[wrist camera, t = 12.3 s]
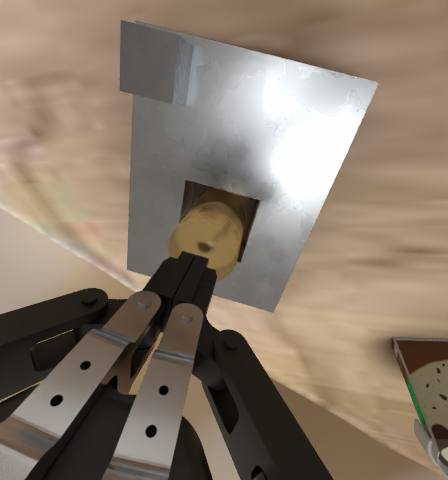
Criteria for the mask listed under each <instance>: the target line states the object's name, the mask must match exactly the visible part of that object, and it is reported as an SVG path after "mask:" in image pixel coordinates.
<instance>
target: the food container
mask: <svg viewBox="0 0 448 480" xmlns="http://www.w3.org/2000/svg"><path fill="white" fill-rule="evenodd" d="M392 347H393V350H394V352H395V355H396V358H397V360H398V363H399V366H400V369H401V371H402V374H403V377H404V379H405V382H406V385H407V387H408V390H409V393H410V395H411V398H412V401H413V403H414V406H415V409H416V411H417V414H418V417H419V419H420V422H421V424H420V423H419V421H418V420H417V419H415V423H414V430H415V434H416V436H417V438H418V440H419V442H420V443H421V445H422V446H423V448H424V449H425V451H426V452H427V454H428V455H429V457H430V458H431V460H432V461H433V462H434V464H435V465H436V466H438V467H439V468H440V470H441V471H442V473H443V474H444V475H445V476H446V477H447V478H448V339H438V338H400V337H392Z"/></svg>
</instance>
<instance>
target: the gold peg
mask: <svg viewBox="0 0 448 480" xmlns="http://www.w3.org/2000/svg"><path fill="white" fill-rule="evenodd" d="M247 212H248V205H247V201H246V199H245V197H244V196H243V195H239V194H235V193H232V192H228V191H225V190H221V189H217V188H214V187H210V188H208V189H207V190H206V191H205V192H204V193H203V195H202V196H201V197H200V199H199V200H198V201H197V202H196V204H195V205H194V206H193V207H192V209H191V210H190V211H189V212H188V214H187V215H186V216H185V217H184V219H183V220H182V221H181V223H180V224H179V225H178V226H177V228H176V229H175V230H174V231H173V233H172V234H171V236H170V238H169V242H168V253H169V257H173V258H177V259H178V257H179V256H180V254H181V252H182V251H185V252H189V253H192V254H196V255H199V256H203V257H206V258H209V262H208V266H207V268H211V269H214V270H216V274H217V280H216V281H219V280H222V279H224V278H225V277H227V276H228V275H229V274H230V273H231V272H232V271H233V269H234V268H235V266H236V263H237V258H238V254H239V249H240V244H241V240H242V235H243V231H244V226H245V222H246V217H247Z"/></svg>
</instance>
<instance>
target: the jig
mask: <svg viewBox="0 0 448 480" xmlns="http://www.w3.org/2000/svg"><path fill="white" fill-rule="evenodd" d="M378 84H379V83H378V82H374V81H370V80H366V79H362V78H358V77H355V76H351V75H347V74H343V73H339V72H335V71H331V70H327V69H323V68H319V67H315V66H311V65H308V64H304V63H300V62H296V61H292V60H288V59H284V58H280V57H276V56H272V55H268V54H264V53H261V52H257V51H253V50H249V49H245V48H241V47H237V46H233V45H229V44H225V43H221V42H218V41H214V40H210V39H206V38H202V37H198V36H194V35H190V34H186V33H182V32H178V31H174V30H171V29H167V28H163V27H159V26H155V25H151V24H147V23H143V22H139V21H136V24H134V23H130V22H126V21H122V20H121V47H120V91H124V92H128V93H131V94H133V117H132V144H131V172H130V200H129V227H128V255H127V270H130V271H133V272H137V273H140V274H144V275H147V276H150V277H152V276H153V275H154V273H155V272H156V271H157V269H158V268H159V266H160V265H161V264H162V262H163V261H164V260H166V259H168V258H169V253H168V242H169V238H170V236H171V234H172V233H173V231H174V230H175V229H176V228H177V226H178V225H179V224H180V223H181V221H182V220H183V219H184V217H185V216H186V215H187V214H188V212H189V211H190V210H191V208H192V202H193V196H194V190H195V184H196V183H199V184H203V185H207V186H210V187H214V188H217V189H221V190H225V191H228V192H232V193H235V194H239V195H243V196H246V197H250V198H254V199H257V200H258V201H257V204H256V207H255V211H254V214H253V217H252V220H251V223H250V227H249V230H248V233H247V236H246V239H245V242H244V243H243V242H241V244H240V249H239V254H238V258H237V263H236V266H235V268H234V269H233V271H232V272H231V273H230V274H229V275H228V276H227V277H225V278H224V279H222V280H219V281H216V284H215V287H214V291H213V295H215V296H219V297H222V298H225V299H229V300H232V301H236V302H239V303H242V304H246V305H249V306H253V307H256V308H259V309H263V310H266V311H270V312H274V310H275V308H276V306H277V304H278V302H279V299H280V297H281V295H282V293H283V291H284V288H285V286H286V284H287V282H288V280H289V278H290V275H291V273H292V271H293V269H294V267H295V264H296V262H297V260H298V258H299V256H300V254H301V251H302V249H303V247H304V245H305V243H306V241H307V238H308V236H309V234H310V232H311V230H312V227H313V225H314V223H315V221H316V219H317V217H318V214H319V212H320V210H321V208H322V206H323V204H324V201H325V199H326V197H327V195H328V193H329V190H330V188H331V186H332V184H333V182H334V180H335V177H336V175H337V173H338V171H339V169H340V167H341V164H342V162H343V160H344V158H345V156H346V153H347V151H348V149H349V147H350V145H351V143H352V140H353V138H354V136H355V134H356V132H357V130H358V127H359V125H360V123H361V121H362V119H363V116H364V114H365V112H366V110H367V108H368V106H369V103H370V101H371V99H372V97H373V95H374V92H375V90H376V88H377V86H378Z"/></svg>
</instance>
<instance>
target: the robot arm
mask: <svg viewBox="0 0 448 480" xmlns="http://www.w3.org/2000/svg"><path fill="white" fill-rule="evenodd" d="M208 262H209V258H206V257H203V256H199V255H196V254H192V253H189V252H185V251H182V252H181V254H180V256H179V257H178V259H177V258H173V257H169V258H168V259H166V260H164V261H163V262H162V264H161V265H160V266H159V268H158V269H157V271H156V272H155V273H154V275H153V276H152V278H151V279H150V280H149V282H148V283H147V285H146V286H145V288H144V289H143V290H142V291H139V292H136V293H134V294H133V295H131V296H130V297H129V298H128V299H119V300H118V299H108V295H107V294H106V293H105V292H104V291H103V290H101V289H97V288H88V289H83V290H80V291H77V292H73V293H70V294H67V295H63V296H60V297H57V298H54V299H51V300H47V301H44V302H40V303H37V304H34V305H30V306H27V307H24V308H20V309H17V310H13V311H10V312H7V313H4V314H0V400H1V399H4V398H6V397H8V396H10V395H12V394H14V393H16V392H18V391H21V390H23V389H24V388H27V387H29V386H31V385H33V384H35V383H37V382H39V381H42V380H43V381H42V382H41V383H40V384H38V385H35V386H33V387H30V388H28V389H26V390H24V391H22V392H20V393H18V394H16V395H14V396H12V397H10V398H8V399H6V400H4V401H2V402H1V403H0V480H213V479H212V475H211V472H210V469H209V466H208V463H207V459H206V456H205V453H204V450H203V447H202V444H201V441H200V439H199V437H198V435H197V433H196V431H195V430H194V428H193V427H192V425H191V424H190V423H189V422H188V420H186V419H185V418H184V417H183V416H182V414H183V409H184V405H185V400H186V396H187V391H188V386H189V382H190V378H191V373H192V374H193V375H195V376H196V377H197V378H199V379H200V380H201V381H202V386H203V389H204V392H205V394H206V396H207V399H208V401H209V403H210V406H211V408H212V411H213V413H214V416H215V418H216V421H217V423H218V425H219V428H220V430H221V433H222V435H223V438H224V440H225V443H226V445H227V447H228V450H229V452H230V455H231V457H232V460H233V462H234V465H235V467H236V469H237V472H238V474H239V477H240V479H241V480H333V478H332V476H331V475H330V473H329V472H328V470H327V469H326V467H325V465H324V464H323V462H322V461H321V459H320V457H319V456H318V454H317V453H316V451H315V449H314V448H313V446H312V445H311V443H310V441H309V440H308V438H307V437H306V435H305V433H304V432H303V430H302V429H301V427H300V425H299V424H298V422H297V421H296V419H295V418H294V416H293V414H292V413H291V411H290V410H289V408H288V406H287V405H286V403H285V402H284V400H283V398H282V397H281V395H280V394H279V392H278V390H277V389H276V387H275V386H274V384H273V383H272V381H271V379H270V378H269V376H268V374H267V373H266V371H265V370H264V368H263V367H262V365H261V363H260V362H259V360H258V359H257V357H256V355H255V354H254V352H253V351H252V349H251V347H250V346H249V344H248V343H247V341H246V339H245V338H244V337H243V336H242V335H241V334H240V333H238V332H236V331H234V330H222V331H219V330H217V329H216V328H214V327H213V326H212V325H211V324H210V323H209V322H208V320H207V317H206V314H207V311H208V307H209V304H210V301H211V298H212V295H213V291H214V287H215V284H216V280H217V274H216V270H214V269H211V268H207V266H208ZM72 329H73V330H72ZM69 330H72V331H69ZM66 331H69V332H67V333H65V334H61V333H64V332H66ZM160 332H163V336H162V338H161V341H160V343H159V346H158V348H157V350H155V351H154V353H153V355H152V357H151V360H150V363H149V365H148V368H147V370H146V373H145V375H144V378H143V381H142V383H141V385H140V388H139V391H138V393H137V395H129V392H130V389H131V387H132V384H133V382H134V381H135V379H136V377H137V376H138V374H139V372H140V370H141V369H142V367H143V365H144V363H145V362H146V360H147V358H148V357H149V355H150V354H151V352H152V350H153V348H154V346H155V344H156V340H157V338H158V336H159V334H160ZM58 334H61V335H59V336H56V335H58ZM54 336H56V337H54ZM51 337H54V338H51ZM48 338H51V339H49V340H46V339H48ZM43 340H46V341H43ZM41 341H43V342H41ZM38 342H41V343H38ZM37 343H38V344H37Z"/></svg>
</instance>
